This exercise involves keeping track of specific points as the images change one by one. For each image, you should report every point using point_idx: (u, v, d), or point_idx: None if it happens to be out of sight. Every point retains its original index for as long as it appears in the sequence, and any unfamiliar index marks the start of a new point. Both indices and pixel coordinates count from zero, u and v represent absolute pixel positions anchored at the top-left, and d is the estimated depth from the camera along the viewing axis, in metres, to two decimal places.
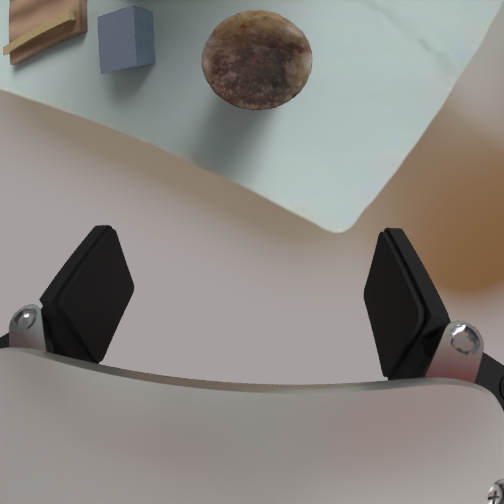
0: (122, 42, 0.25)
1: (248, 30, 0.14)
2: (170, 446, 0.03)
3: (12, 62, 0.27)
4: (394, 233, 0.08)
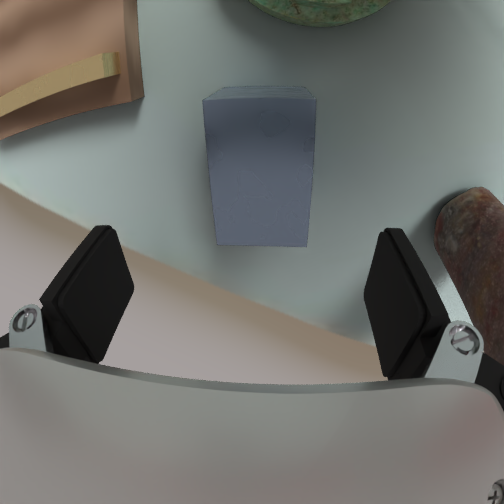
0: (278, 190, 0.14)
1: None
2: (170, 446, 0.03)
3: None
4: (394, 233, 0.08)
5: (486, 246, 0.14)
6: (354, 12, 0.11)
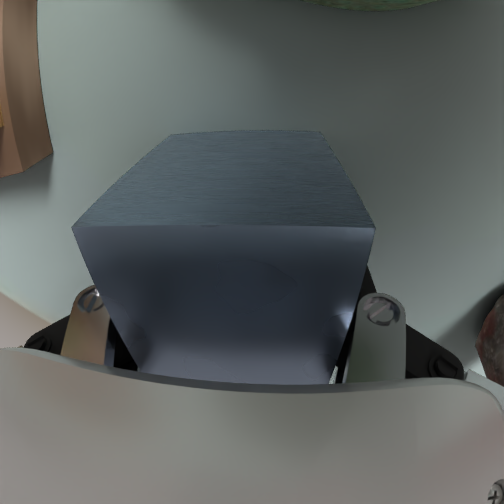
0: (265, 383, 0.07)
1: None
2: (170, 446, 0.03)
3: None
4: None
5: None
6: None
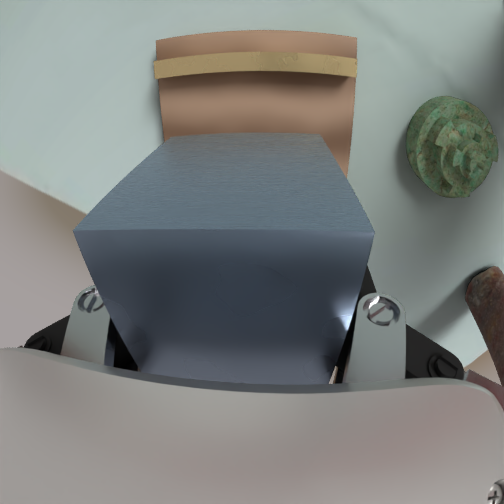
0: None
1: None
2: (170, 446, 0.03)
3: None
4: None
5: (494, 305, 0.27)
6: None
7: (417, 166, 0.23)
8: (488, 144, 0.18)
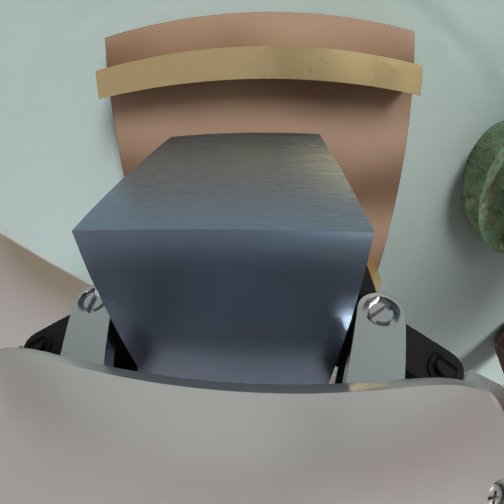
0: None
1: None
2: (170, 446, 0.03)
3: None
4: None
5: None
6: None
7: (477, 217, 0.15)
8: None
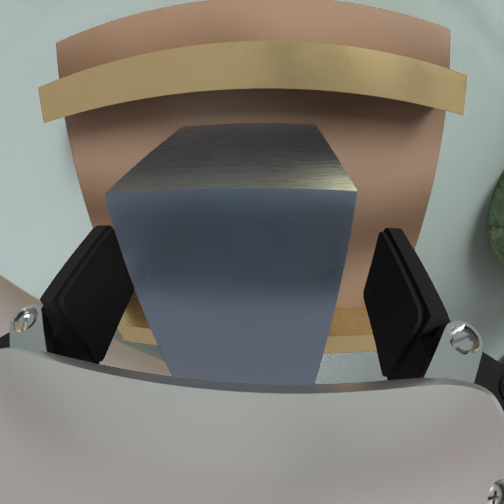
0: (268, 343, 0.08)
1: None
2: (170, 446, 0.03)
3: None
4: (394, 233, 0.08)
5: None
6: None
7: None
8: None
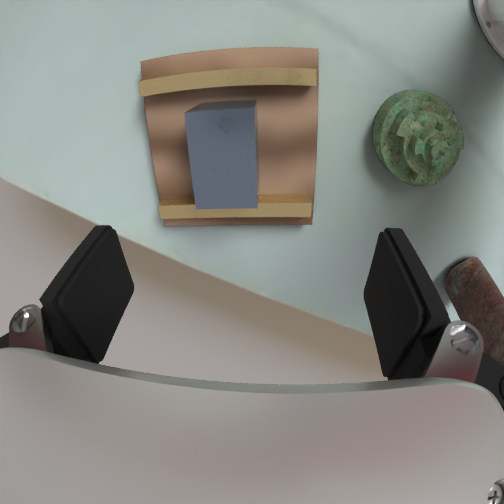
0: (234, 168, 0.21)
1: None
2: (170, 446, 0.03)
3: (169, 223, 0.32)
4: (394, 233, 0.08)
5: (472, 294, 0.30)
6: None
7: (383, 157, 0.26)
8: (451, 132, 0.21)
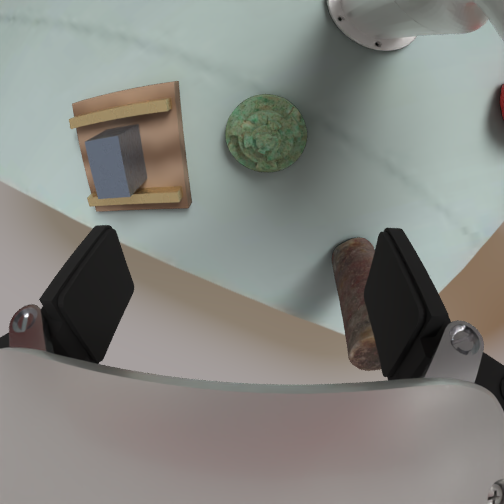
0: (113, 172, 0.32)
1: None
2: (170, 446, 0.03)
3: (99, 209, 0.42)
4: (394, 233, 0.08)
5: (344, 269, 0.40)
6: (282, 166, 0.36)
7: (231, 152, 0.36)
8: (277, 124, 0.31)
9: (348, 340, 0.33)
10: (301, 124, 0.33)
